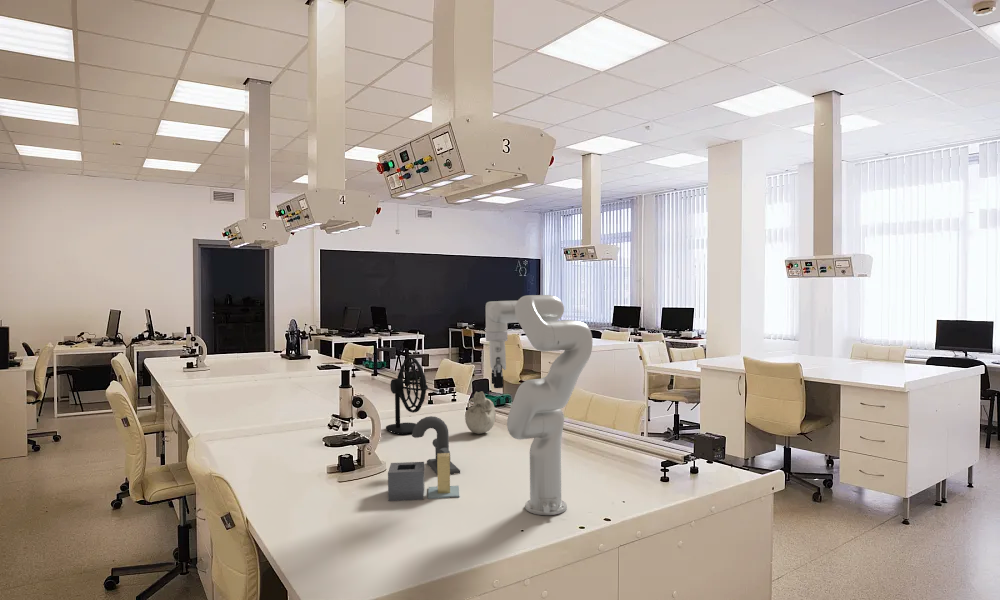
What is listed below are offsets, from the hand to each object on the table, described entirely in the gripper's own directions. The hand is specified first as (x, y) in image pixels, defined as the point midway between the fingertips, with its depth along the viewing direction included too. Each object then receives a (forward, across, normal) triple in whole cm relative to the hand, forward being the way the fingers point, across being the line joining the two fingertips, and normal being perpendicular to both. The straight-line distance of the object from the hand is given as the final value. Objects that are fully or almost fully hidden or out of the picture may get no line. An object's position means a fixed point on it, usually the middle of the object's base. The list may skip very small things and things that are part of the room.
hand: (497, 385), depth 208 cm
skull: (+34, +72, +2) cm, 79 cm away
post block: (+33, -10, +31) cm, 47 cm away
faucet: (+34, +17, +23) cm, 44 cm away
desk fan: (+34, +83, +37) cm, 97 cm away
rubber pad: (+33, -10, +19) cm, 40 cm away
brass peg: (+33, -10, +19) cm, 39 cm away
